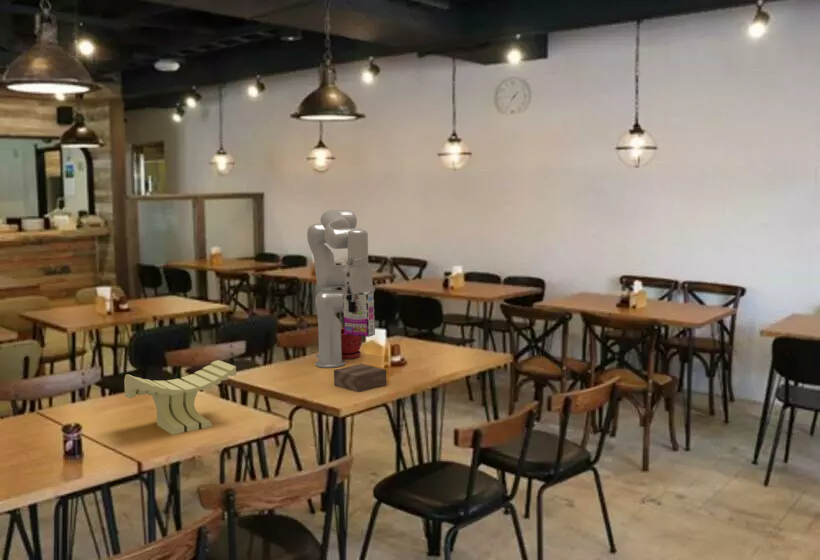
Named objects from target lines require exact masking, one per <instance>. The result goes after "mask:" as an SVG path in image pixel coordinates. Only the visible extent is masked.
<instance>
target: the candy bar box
mask: <svg viewBox="0 0 820 560" xmlns="http://www.w3.org/2000/svg"><path fill="white" fill-rule="evenodd" d="M374 293H375V291H374V292H363V293H360V294H357V295H355V299H354V302H355V313H352V312H349V307H348V301H347V299H346V298H345V297H344V296H343V312H342V313H343V328H344V335H352V336H362V337H366V338H369V337H373V336H375V335H376V327H375V326H376V325H375V324H376V323H375V317H376V316H375V294H374ZM347 294H348V293H347ZM351 297H352V295H351Z"/></svg>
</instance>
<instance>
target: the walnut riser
mask: <svg viewBox="0 0 820 560" xmlns="http://www.w3.org/2000/svg"><path fill="white" fill-rule="evenodd" d="M333 382H334V383H333V385H335V387H338V386H339V387H338V388H341V387H343V388H342V389H345V388H346V389H345V390H349V391H352V390H353V392H356V391H357V392H356V393H360V392H364V391H368V390H373V389H377V388H381V387H385V386H387V369H385V368H380V367H378V366H377V367H376V366H373V365H368V364H364V363H360V364H357V365H352V366H347V367H341V368H338V369H337V368H336V369H333ZM384 385H385V386H384ZM380 386H381V387H380ZM376 387H377V388H376Z"/></svg>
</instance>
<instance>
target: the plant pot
mask: <svg viewBox="0 0 820 560" xmlns="http://www.w3.org/2000/svg"><path fill="white" fill-rule="evenodd" d="M362 339H363V336H352V335H344V327H343V328H342V327H341V352H342V360H343V359H344V360H348V359H349V360H351V359H356V358H359V356H361V354H362V351H360V349H361V347H362V342H363V340H362Z"/></svg>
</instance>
